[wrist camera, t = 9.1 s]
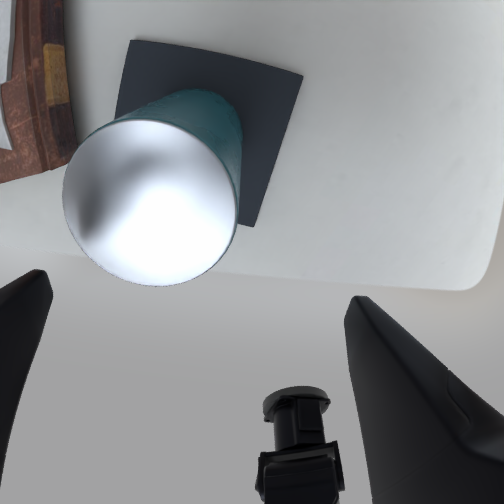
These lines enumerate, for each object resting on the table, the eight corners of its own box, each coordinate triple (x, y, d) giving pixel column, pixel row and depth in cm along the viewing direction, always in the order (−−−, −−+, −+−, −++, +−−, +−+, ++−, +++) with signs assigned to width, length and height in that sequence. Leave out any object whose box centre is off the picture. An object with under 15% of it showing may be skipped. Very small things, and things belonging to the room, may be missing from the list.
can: (228, 189, 19) (215, 303, 11) (140, 169, 18) (64, 266, 10) (254, 101, 16) (263, 142, 8) (157, 80, 15) (65, 106, 7)
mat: (253, 223, 21) (253, 228, 21) (109, 190, 20) (105, 194, 19) (302, 75, 16) (304, 76, 15) (133, 40, 14) (130, 39, 14)
